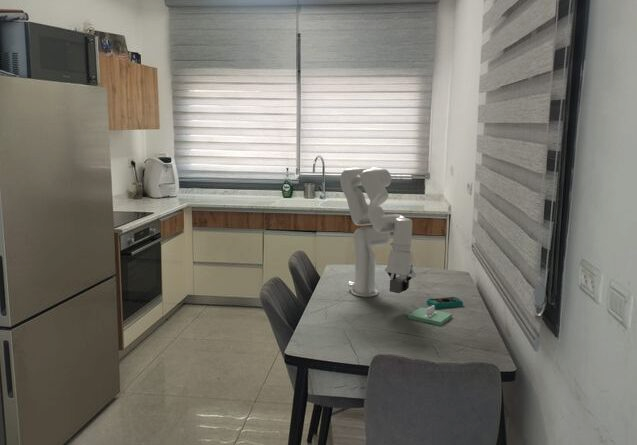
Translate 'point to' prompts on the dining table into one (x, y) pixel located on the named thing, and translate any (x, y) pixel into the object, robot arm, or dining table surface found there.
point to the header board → (430, 315)
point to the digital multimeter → (445, 302)
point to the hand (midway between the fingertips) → (399, 288)
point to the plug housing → (397, 284)
